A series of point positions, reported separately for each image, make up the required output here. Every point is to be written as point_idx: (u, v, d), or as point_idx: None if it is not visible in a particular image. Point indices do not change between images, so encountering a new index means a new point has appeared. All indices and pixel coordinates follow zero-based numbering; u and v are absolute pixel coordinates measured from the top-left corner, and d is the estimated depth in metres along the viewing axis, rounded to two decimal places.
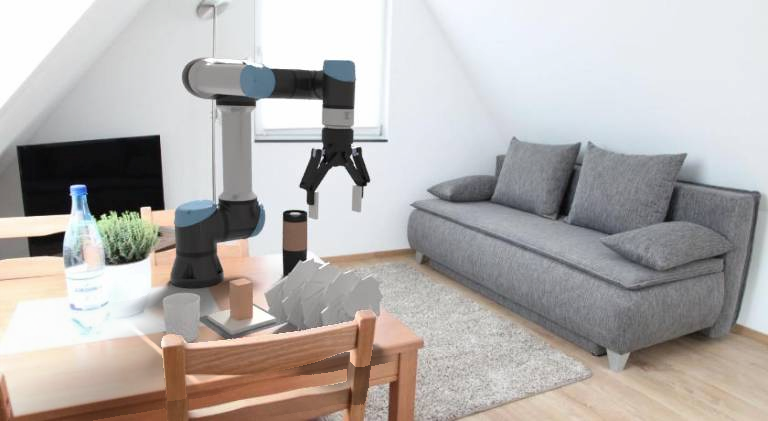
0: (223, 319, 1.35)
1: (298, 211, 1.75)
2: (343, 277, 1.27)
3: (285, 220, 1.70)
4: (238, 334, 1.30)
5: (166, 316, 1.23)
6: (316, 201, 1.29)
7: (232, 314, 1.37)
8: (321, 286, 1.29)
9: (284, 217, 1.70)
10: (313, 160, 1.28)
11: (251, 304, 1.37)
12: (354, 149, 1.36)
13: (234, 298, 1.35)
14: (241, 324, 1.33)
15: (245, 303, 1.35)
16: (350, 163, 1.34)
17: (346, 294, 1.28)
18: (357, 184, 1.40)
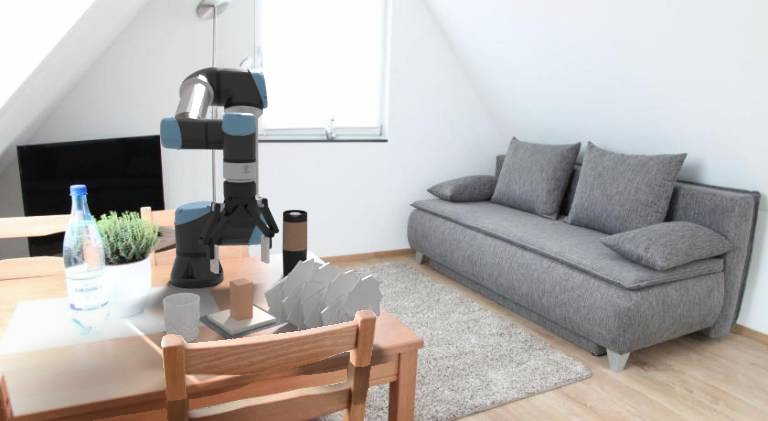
0: (223, 319, 1.35)
1: (298, 211, 1.75)
2: (343, 277, 1.27)
3: (285, 220, 1.70)
4: (238, 334, 1.30)
5: (166, 316, 1.23)
6: (216, 255, 1.28)
7: (232, 314, 1.37)
8: (321, 286, 1.29)
9: (284, 217, 1.70)
10: (212, 214, 1.27)
11: (251, 304, 1.37)
12: (259, 201, 1.35)
13: (234, 298, 1.35)
14: (241, 324, 1.33)
15: (245, 303, 1.35)
16: (254, 215, 1.33)
17: (346, 294, 1.28)
18: (265, 235, 1.38)
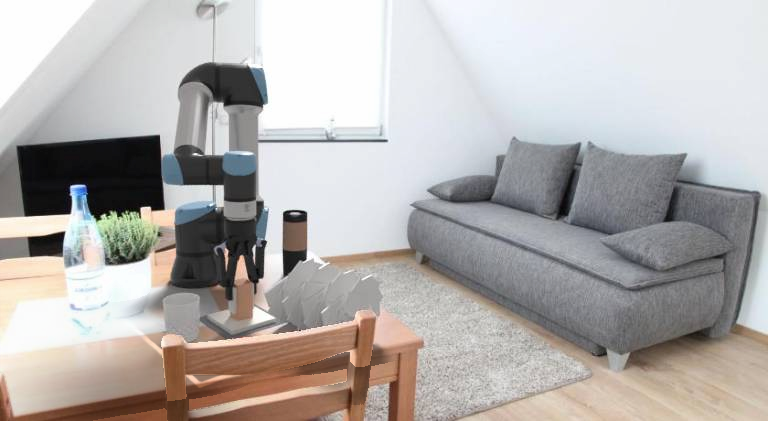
0: (223, 319, 1.35)
1: (298, 211, 1.75)
2: (343, 277, 1.27)
3: (285, 220, 1.70)
4: (238, 334, 1.30)
5: (166, 316, 1.23)
6: (234, 297, 1.34)
7: (232, 314, 1.37)
8: (321, 286, 1.29)
9: (284, 217, 1.70)
10: (218, 259, 1.30)
11: (251, 304, 1.37)
12: (259, 240, 1.37)
13: None
14: (241, 324, 1.33)
15: (245, 303, 1.35)
16: (250, 254, 1.34)
17: (346, 294, 1.28)
18: (250, 280, 1.38)
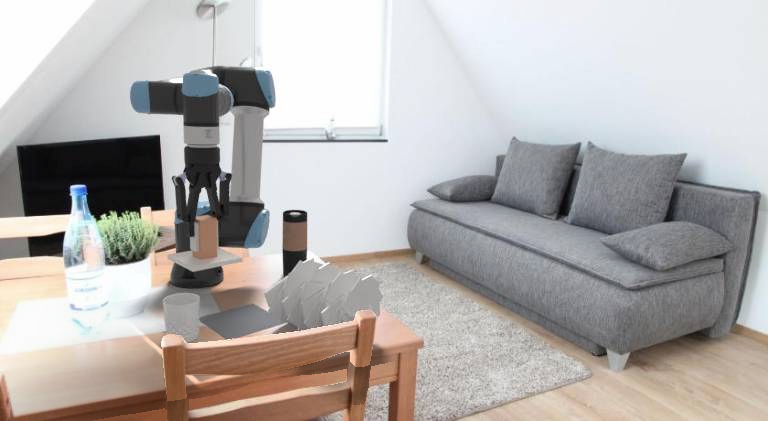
0: (184, 258, 1.25)
1: (298, 211, 1.75)
2: (343, 277, 1.27)
3: (285, 220, 1.70)
4: (238, 334, 1.30)
5: (166, 316, 1.23)
6: (196, 233, 1.23)
7: (195, 253, 1.26)
8: (321, 286, 1.29)
9: (284, 217, 1.70)
10: (178, 190, 1.20)
11: (215, 242, 1.26)
12: (223, 173, 1.27)
13: None
14: (204, 262, 1.23)
15: (208, 241, 1.25)
16: (213, 187, 1.24)
17: (346, 294, 1.28)
18: None
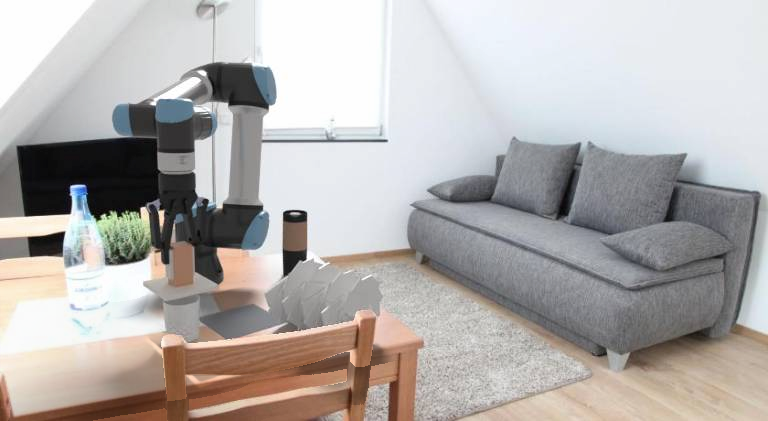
0: (159, 285, 1.22)
1: (298, 211, 1.75)
2: (343, 277, 1.27)
3: (285, 220, 1.70)
4: (238, 334, 1.30)
5: (166, 316, 1.23)
6: (170, 260, 1.21)
7: (170, 280, 1.24)
8: (321, 286, 1.29)
9: (284, 217, 1.70)
10: (151, 217, 1.17)
11: (191, 269, 1.24)
12: (200, 199, 1.24)
13: None
14: (178, 290, 1.20)
15: (183, 268, 1.22)
16: (188, 213, 1.21)
17: (346, 294, 1.28)
18: (190, 243, 1.25)
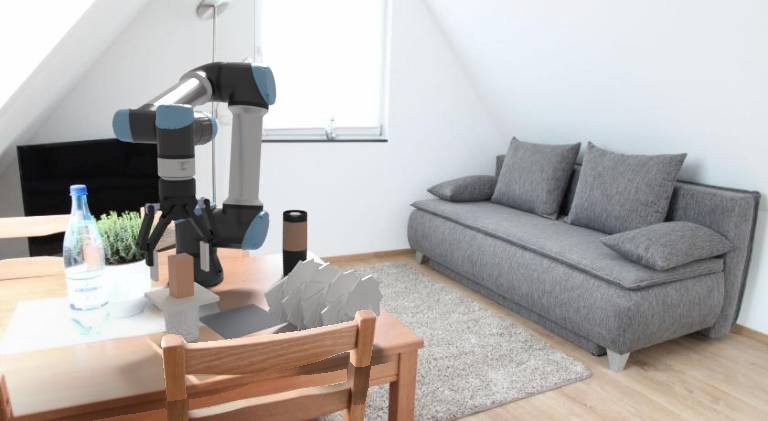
0: (160, 297, 1.23)
1: (298, 211, 1.75)
2: (343, 277, 1.27)
3: (285, 220, 1.70)
4: (238, 334, 1.30)
5: (166, 316, 1.23)
6: (155, 262, 1.18)
7: (171, 292, 1.24)
8: (321, 286, 1.29)
9: (284, 217, 1.70)
10: (146, 217, 1.17)
11: (192, 281, 1.24)
12: (201, 201, 1.24)
13: (172, 274, 1.23)
14: (179, 302, 1.21)
15: (184, 280, 1.23)
16: (193, 217, 1.22)
17: (346, 294, 1.28)
18: (205, 240, 1.27)
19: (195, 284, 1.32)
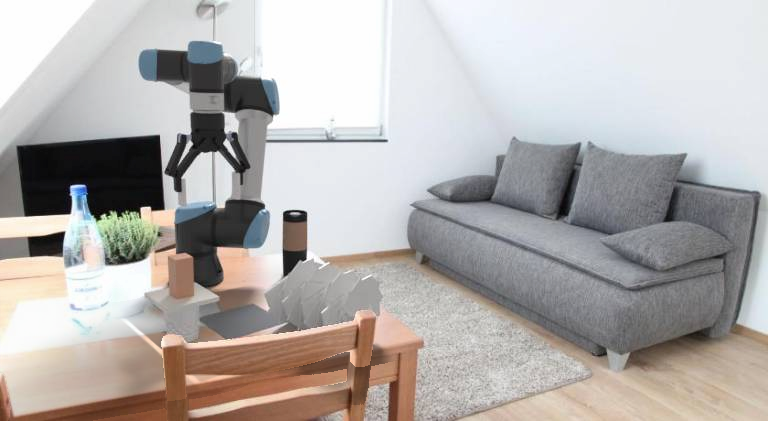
0: (160, 297, 1.23)
1: (298, 211, 1.75)
2: (343, 277, 1.27)
3: (285, 220, 1.70)
4: (238, 334, 1.30)
5: (166, 316, 1.23)
6: (183, 188, 1.26)
7: (171, 292, 1.24)
8: (321, 286, 1.29)
9: (284, 217, 1.70)
10: (178, 146, 1.24)
11: (192, 281, 1.24)
12: (229, 134, 1.32)
13: (172, 274, 1.23)
14: (179, 302, 1.21)
15: (184, 280, 1.23)
16: (223, 149, 1.30)
17: (346, 294, 1.28)
18: (236, 170, 1.36)
19: (195, 284, 1.32)
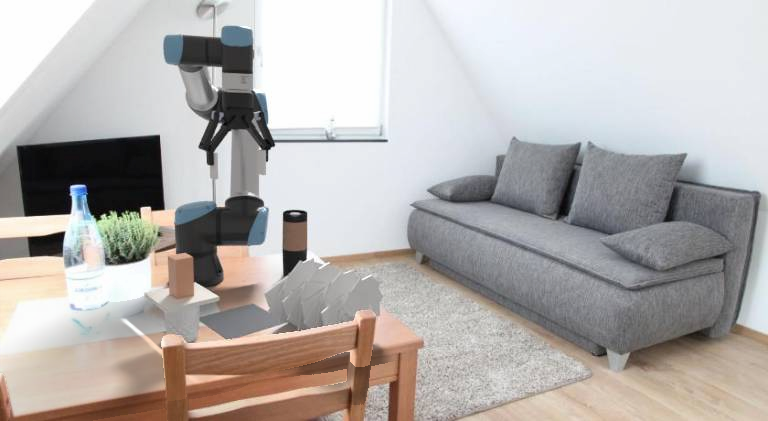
0: (160, 297, 1.23)
1: (298, 211, 1.75)
2: (343, 277, 1.27)
3: (285, 220, 1.70)
4: (238, 334, 1.30)
5: (166, 316, 1.23)
6: (215, 161, 1.36)
7: (171, 292, 1.24)
8: (321, 286, 1.29)
9: (284, 217, 1.70)
10: (211, 122, 1.34)
11: (192, 281, 1.24)
12: (256, 114, 1.42)
13: (172, 274, 1.23)
14: (179, 302, 1.21)
15: (184, 280, 1.23)
16: (251, 127, 1.41)
17: (346, 294, 1.28)
18: (262, 148, 1.46)
19: (195, 284, 1.32)
